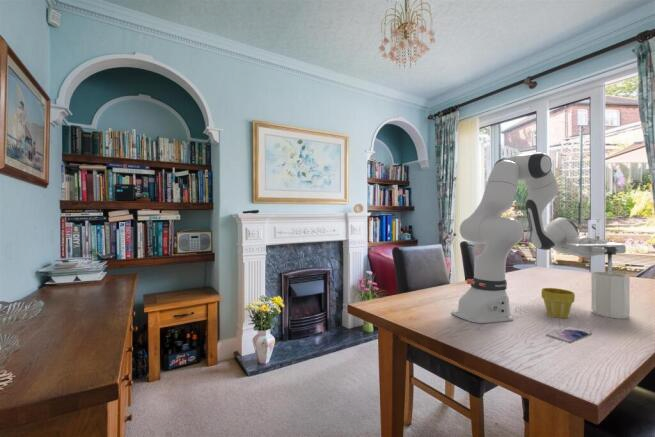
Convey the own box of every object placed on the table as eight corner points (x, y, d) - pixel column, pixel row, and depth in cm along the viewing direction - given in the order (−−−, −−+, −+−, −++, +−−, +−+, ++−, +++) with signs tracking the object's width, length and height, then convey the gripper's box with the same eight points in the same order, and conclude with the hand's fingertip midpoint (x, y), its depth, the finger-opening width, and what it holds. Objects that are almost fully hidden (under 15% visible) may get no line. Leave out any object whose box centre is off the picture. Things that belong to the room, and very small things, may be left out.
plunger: (617, 305, 113) (617, 247, 113) (593, 300, 120) (592, 246, 120) (627, 302, 116) (627, 246, 116) (603, 297, 123) (602, 245, 123)
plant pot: (581, 320, 111) (580, 294, 111) (549, 319, 113) (549, 293, 113) (564, 312, 121) (564, 288, 121) (536, 310, 123) (536, 287, 123)
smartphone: (592, 333, 99) (570, 342, 91) (592, 335, 99) (570, 344, 92) (567, 326, 105) (545, 334, 98) (567, 328, 105) (545, 336, 98)
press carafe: (620, 320, 111) (620, 277, 111) (586, 312, 121) (586, 273, 121) (637, 315, 117) (637, 274, 117) (604, 308, 126) (604, 270, 126)
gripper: (559, 240, 132) (584, 242, 118) (607, 239, 131) (638, 242, 117) (559, 254, 132) (584, 258, 118) (607, 254, 131) (638, 258, 117)
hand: (611, 250), depth 117 cm, fingers closed on plunger, 4 cm apart
